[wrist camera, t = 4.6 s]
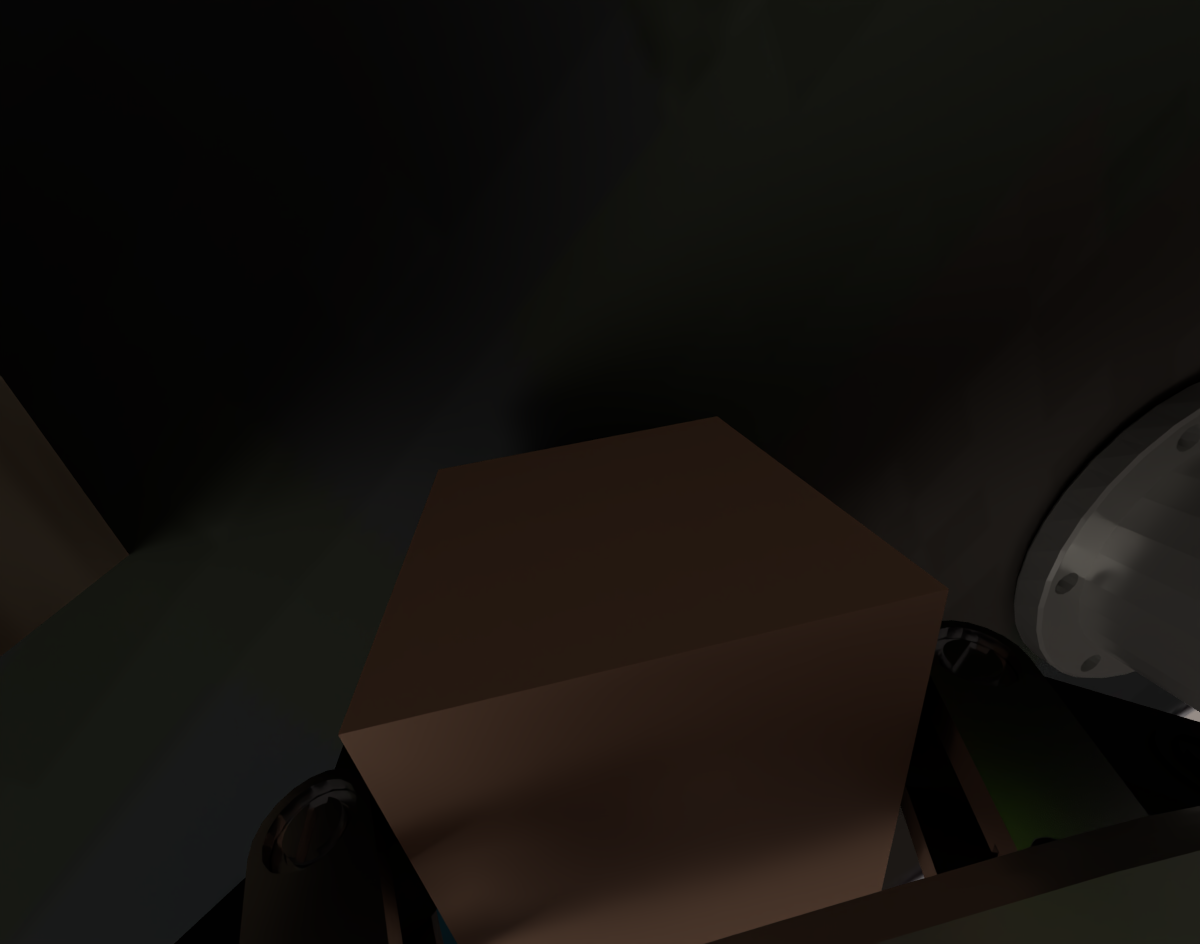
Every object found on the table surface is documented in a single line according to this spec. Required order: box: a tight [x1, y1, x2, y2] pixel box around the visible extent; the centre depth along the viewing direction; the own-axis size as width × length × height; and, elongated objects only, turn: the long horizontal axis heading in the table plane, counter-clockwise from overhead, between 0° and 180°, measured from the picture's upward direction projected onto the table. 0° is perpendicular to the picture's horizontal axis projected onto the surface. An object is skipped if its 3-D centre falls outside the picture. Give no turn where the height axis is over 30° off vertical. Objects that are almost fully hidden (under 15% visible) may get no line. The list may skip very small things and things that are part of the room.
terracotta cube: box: [338, 416, 949, 944], centre depth 8 cm, size 6×6×6 cm
